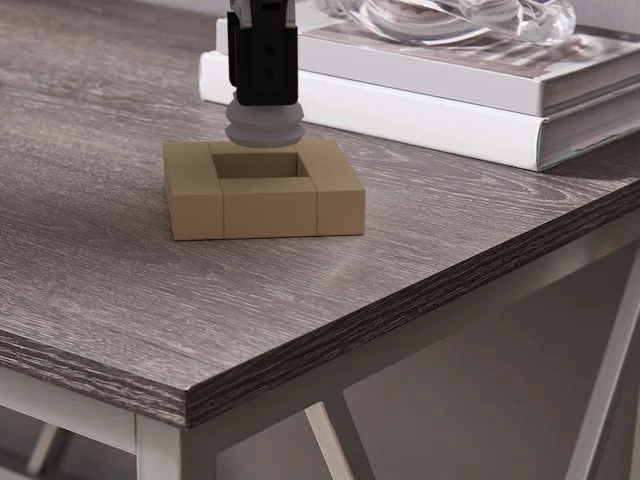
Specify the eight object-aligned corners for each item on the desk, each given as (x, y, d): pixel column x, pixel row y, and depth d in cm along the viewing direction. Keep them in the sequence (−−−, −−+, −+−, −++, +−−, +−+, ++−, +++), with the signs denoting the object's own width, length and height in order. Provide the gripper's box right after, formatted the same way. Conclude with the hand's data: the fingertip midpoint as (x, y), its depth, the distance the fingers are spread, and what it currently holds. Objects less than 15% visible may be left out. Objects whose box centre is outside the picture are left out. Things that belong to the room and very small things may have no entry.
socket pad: (174, 241, 67) (172, 194, 66) (164, 183, 76) (162, 141, 75) (364, 234, 69) (365, 189, 68) (333, 179, 78) (334, 138, 77)
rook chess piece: (322, 141, 71) (322, -10, 67) (256, 154, 68) (252, -2, 65) (273, 124, 74) (271, -21, 70) (208, 136, 71) (202, -14, 68)
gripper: (166, -288, 68) (183, 63, 76) (187, -297, 54) (204, 137, 62) (307, -283, 70) (309, 61, 78) (364, -291, 55) (358, 133, 64)
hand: (262, 91), depth 70 cm, fingers closed on rook chess piece, 3 cm apart
